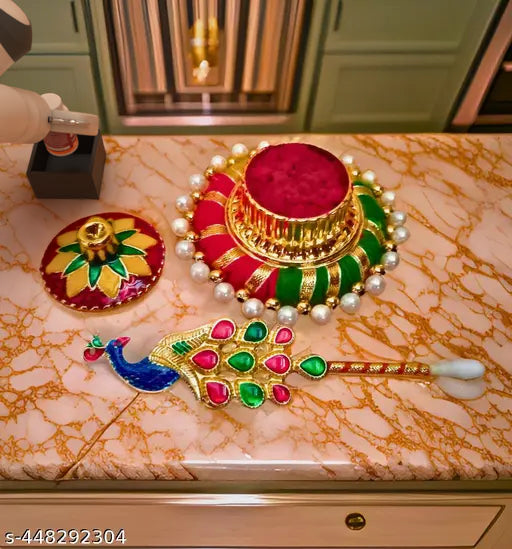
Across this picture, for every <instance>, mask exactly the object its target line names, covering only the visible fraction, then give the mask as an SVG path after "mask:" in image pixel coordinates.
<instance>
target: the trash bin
mask: <svg viewBox="0 0 512 549" xmlns="http://www.w3.org/2000/svg"><path fill="white" fill-rule="evenodd" d="M76 136H77V139H78V147H77V149H76V150H75V151H74V152H73V153H71V154H69V155H66V156H56V155H53V154H51V153H50V152H49V151H48V150H47V148H46V145H45V143H44V140H43V139H42V140H41V141H39V142H37V143H34V144H32V150H31V154H30V156H29V160H28V164H27V169H26V172H25V176H26V178H27V181H28V182H29V185H30V187H31V190H32V192H33V194H34V197H35V198H36V199H38V200H39V199H40V200H41V199H42V200H100V195H101V189H102V184H103V178H104V177H103V176H104V172H105V171H104V170H105V164H106V159H107V152H106V148H105V147H106V146H105V143H104V140H103V135H102V132H101V129H100V128H98V134H97V135H95V136H91V135H80V134H76Z"/></svg>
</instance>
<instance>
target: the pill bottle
mask: <svg viewBox="0 0 512 549" xmlns="http://www.w3.org/2000/svg"><path fill="white" fill-rule="evenodd" d="M40 96H41V97H43V98H44V100H45V101H46V102H47V104H48V105H49V108H50V109H55V110H64V111H70V110H69V108H68V107H67V106H66V105H65V104H64V103H63V101H62V98H61V97H60V95H58V94H56V93H53V92H50V93H49V92H48V93H43V94H40ZM43 140H44V143H45V145H46V148H47V150H48V151H49V152H50V153H51V154H53V155H56V156H66V155H69V154H71V153H73V152H74V151H75V150H76V149H77V147H78V139H77V136H76V134H71V133H62V132H54V131H49V132H48V134H47V135H46V137H45V138H44V139H43Z"/></svg>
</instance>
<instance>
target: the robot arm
mask: <svg viewBox="0 0 512 549" xmlns="http://www.w3.org/2000/svg"><path fill="white" fill-rule="evenodd" d="M32 26H33V25H32V22H31V20H30V19H29V17H28V16H27V15H26V13H25V12H24V11H23V10H22V9H21V8H20V6H18V4H16V3H15V2H14V1H13V0H0V77H2V75H3V74H4V73H6V71H7V70H8V69H9V68H10V67H12V65H13V64H14V63H17V62H18V61H19V60H21V59H22V58H23V57H24V56H25V55H27V54H28V53H29V52H30V51H32V48H33V46H32V45H33V27H32ZM99 121H100V120H99V116H98V115H96V114H94V113H87V112H81V111H80V112H79V111H72V110H69V111H64V110H55V109H50V108H49V105H48V104H47V102H46V101H45V100H44V98H43V97H41V94H39V93H37V92H35V91H33V90H29V89H26V88H21V87H16V86H9V85H7V84H2V83H0V144H2V145H3V144H13V145H34V143H37V142H39V141H41V140H42V139H44V138H45V137H46V135H47V134H48V132H49V131H54V132H62V133H71V134H80V135H91V136H95V135H97V134H98V129H99V127H100V126H99V123H100V122H99Z"/></svg>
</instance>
